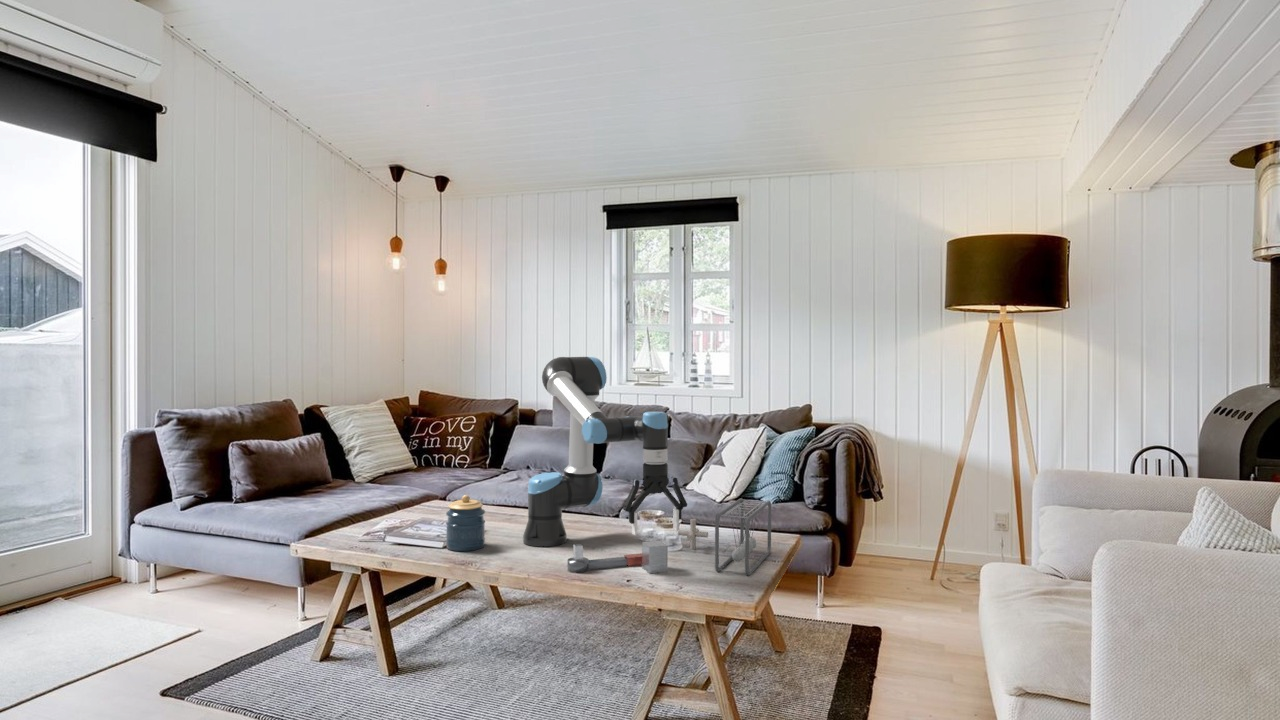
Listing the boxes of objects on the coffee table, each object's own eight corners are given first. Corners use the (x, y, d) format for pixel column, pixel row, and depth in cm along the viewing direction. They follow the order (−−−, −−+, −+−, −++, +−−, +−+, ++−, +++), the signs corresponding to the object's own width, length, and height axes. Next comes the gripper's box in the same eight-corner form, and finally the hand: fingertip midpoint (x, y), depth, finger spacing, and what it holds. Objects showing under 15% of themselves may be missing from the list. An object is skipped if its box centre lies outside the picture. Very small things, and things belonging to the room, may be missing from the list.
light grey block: (642, 568, 226) (642, 542, 226) (660, 566, 228) (660, 540, 228) (649, 573, 220) (649, 547, 220) (667, 571, 223) (667, 545, 222)
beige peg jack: (682, 543, 255) (682, 515, 255) (710, 546, 252) (710, 517, 252) (674, 551, 245) (674, 521, 245) (704, 554, 242) (704, 523, 242)
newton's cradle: (740, 549, 249) (741, 496, 249) (771, 552, 245) (771, 499, 245) (714, 573, 221) (714, 514, 221) (748, 577, 217) (748, 518, 217)
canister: (487, 541, 257) (488, 491, 256) (481, 551, 244) (482, 498, 243) (450, 542, 256) (450, 491, 256) (442, 552, 243) (442, 499, 243)
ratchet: (565, 567, 226) (565, 543, 226) (646, 559, 235) (646, 536, 235) (570, 573, 220) (570, 548, 220) (653, 565, 229) (653, 541, 229)
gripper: (620, 466, 216) (620, 538, 216) (697, 462, 225) (697, 531, 225) (612, 463, 223) (612, 532, 223) (687, 459, 232) (687, 526, 232)
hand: (655, 532), depth 224 cm, fingers open, 13 cm apart
